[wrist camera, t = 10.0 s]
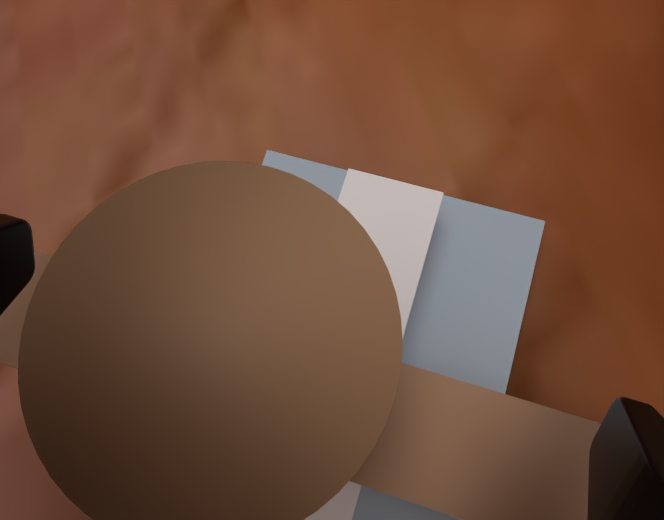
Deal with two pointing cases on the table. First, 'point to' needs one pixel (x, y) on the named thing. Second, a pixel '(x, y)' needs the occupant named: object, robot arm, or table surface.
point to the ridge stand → (435, 291)
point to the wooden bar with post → (258, 368)
